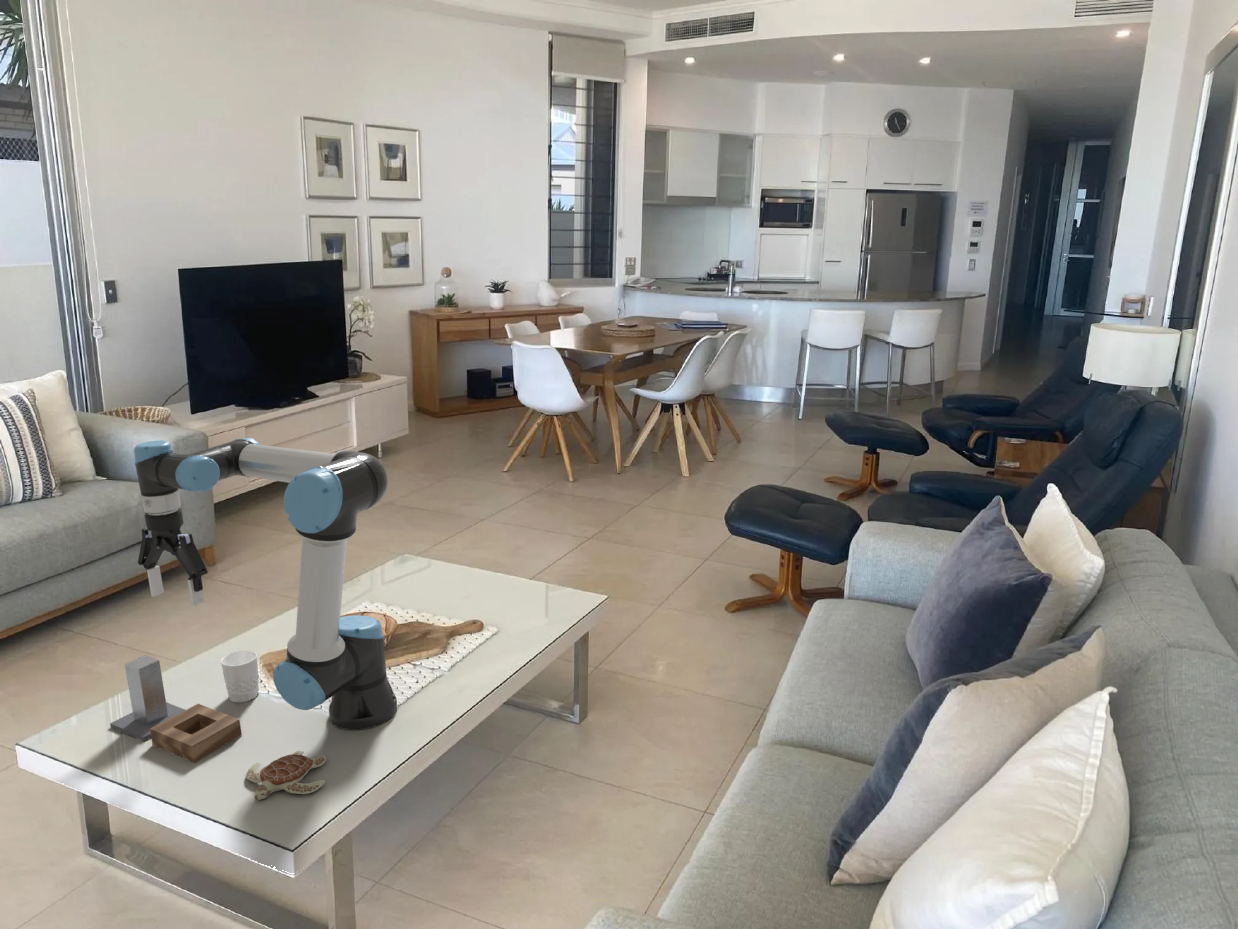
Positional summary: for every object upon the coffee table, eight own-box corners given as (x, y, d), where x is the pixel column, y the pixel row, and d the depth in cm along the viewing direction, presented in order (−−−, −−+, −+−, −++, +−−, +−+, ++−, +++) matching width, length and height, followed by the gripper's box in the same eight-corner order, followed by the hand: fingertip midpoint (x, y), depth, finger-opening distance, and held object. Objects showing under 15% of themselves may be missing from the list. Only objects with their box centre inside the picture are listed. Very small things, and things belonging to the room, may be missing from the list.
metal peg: (168, 715, 212) (159, 659, 209) (148, 725, 208) (138, 669, 204) (154, 710, 215) (145, 655, 211) (134, 720, 211) (124, 664, 207)
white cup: (249, 705, 218) (244, 667, 215) (219, 702, 220) (213, 664, 217) (268, 689, 225) (263, 651, 223) (239, 686, 227) (233, 649, 224)
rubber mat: (192, 716, 214) (191, 712, 214) (143, 741, 204) (143, 737, 204) (159, 703, 220) (158, 699, 219) (110, 727, 210) (110, 723, 209)
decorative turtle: (221, 795, 186) (217, 773, 184) (280, 751, 200) (277, 730, 199) (293, 816, 179) (290, 794, 177) (348, 769, 193) (346, 748, 192)
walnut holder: (241, 735, 206) (239, 719, 205) (194, 763, 196) (191, 746, 195) (200, 719, 212) (198, 703, 211) (152, 745, 202) (149, 728, 201)
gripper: (111, 508, 209) (126, 596, 214) (186, 522, 197) (201, 614, 203) (140, 499, 215) (155, 584, 221) (215, 512, 204) (229, 601, 209)
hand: (177, 599), depth 212 cm, fingers open, 13 cm apart
